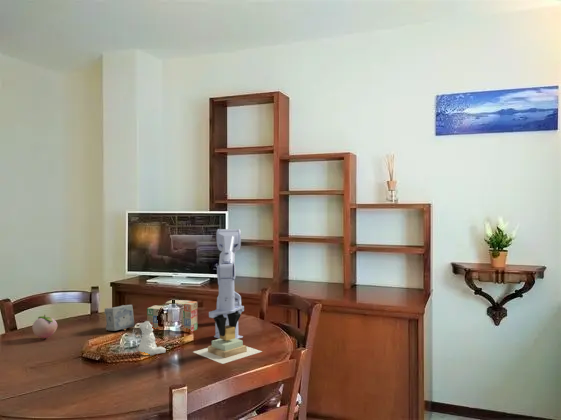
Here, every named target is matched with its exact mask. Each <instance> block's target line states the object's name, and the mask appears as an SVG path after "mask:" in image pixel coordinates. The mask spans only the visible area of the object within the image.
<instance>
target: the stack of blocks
mask: <svg viewBox="0 0 561 420" xmlns="http://www.w3.org/2000/svg"><path fill="white" fill-rule="evenodd" d="M172 300H173V299H171V300H168V301H166V302H165V303H164V304H165V305H169V304H172ZM174 300H175V303H177V304H182V305H183V306H184V310H183V319H182V326H183V327H184V328H188V329H190V330H191V331H192V332H191V333H193V332H194V331H197V330H198V301H193V300H186V299H185V300H183V299H182V300H181V299H180V300H179V299H174ZM165 305H152V306H150V307H147V308H146V317H147V319H146V321H149V323H150V324H151V325H152V327H154V328H157V327H159V326H158V320H157V316H158V312H159V310H160V308H161V307H163V306H165Z"/></svg>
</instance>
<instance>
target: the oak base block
mask: <svg viewBox="0 0 561 420" xmlns="http://www.w3.org/2000/svg"><path fill="white" fill-rule="evenodd" d="M247 347H248V346H247V345H245V344H243V346H241V347H238V348H235V349H231V350H228V351H223V350H221V349H218V348H215V347H212V344H211V345H208V346H207V348H208V352H210V353H212V354H215V355H218V356H220V357H223V358H227V357H230V356H234V355H237V354H240V353H244V352H247Z"/></svg>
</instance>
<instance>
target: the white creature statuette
mask: <svg viewBox="0 0 561 420" xmlns="http://www.w3.org/2000/svg"><path fill="white" fill-rule="evenodd" d="M139 328H140V330H141V332H142V336H141V338H140V339H141V340H140V343H139V345H138V347H137V352H138V351H141V352H145V353H148V354H150V356H155V355H158V354H164V353H166V348H165V347H163V346H157V344H156V337H155V334H154V332H153V331H154V329H153V328H152V325H151V324H150V323H149V321H147V320H146V321H144V322H142V323H139Z"/></svg>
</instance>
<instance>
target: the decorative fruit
mask: <svg viewBox="0 0 561 420" xmlns="http://www.w3.org/2000/svg"><path fill="white" fill-rule="evenodd" d="M31 329H32V332H33V334H34V335H35V336H37V337H38V338H40V339H44V338H47V339H48V338H50V337H52V336H53V335H54V333H56V331H57V329H58V323H57V321H56V319H55V318H52V317H48V316H46V314H44V315H41V316H38V317H37V319H36V320H35V321H34V322H33V324H32V327H31Z"/></svg>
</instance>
